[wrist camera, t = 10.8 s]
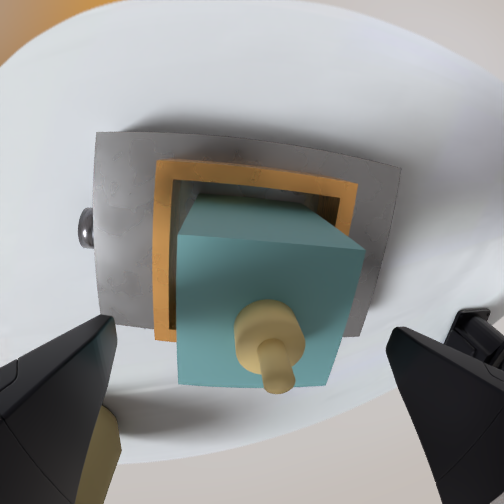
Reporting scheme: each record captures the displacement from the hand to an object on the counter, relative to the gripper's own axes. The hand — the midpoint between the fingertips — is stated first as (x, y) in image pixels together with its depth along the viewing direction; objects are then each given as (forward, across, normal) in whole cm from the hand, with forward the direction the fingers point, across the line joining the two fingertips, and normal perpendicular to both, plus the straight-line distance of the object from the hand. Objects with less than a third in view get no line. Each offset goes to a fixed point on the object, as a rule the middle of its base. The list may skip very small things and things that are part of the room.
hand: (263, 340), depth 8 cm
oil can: (+9, 0, 0) cm, 9 cm away
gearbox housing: (+12, 0, 0) cm, 12 cm away
